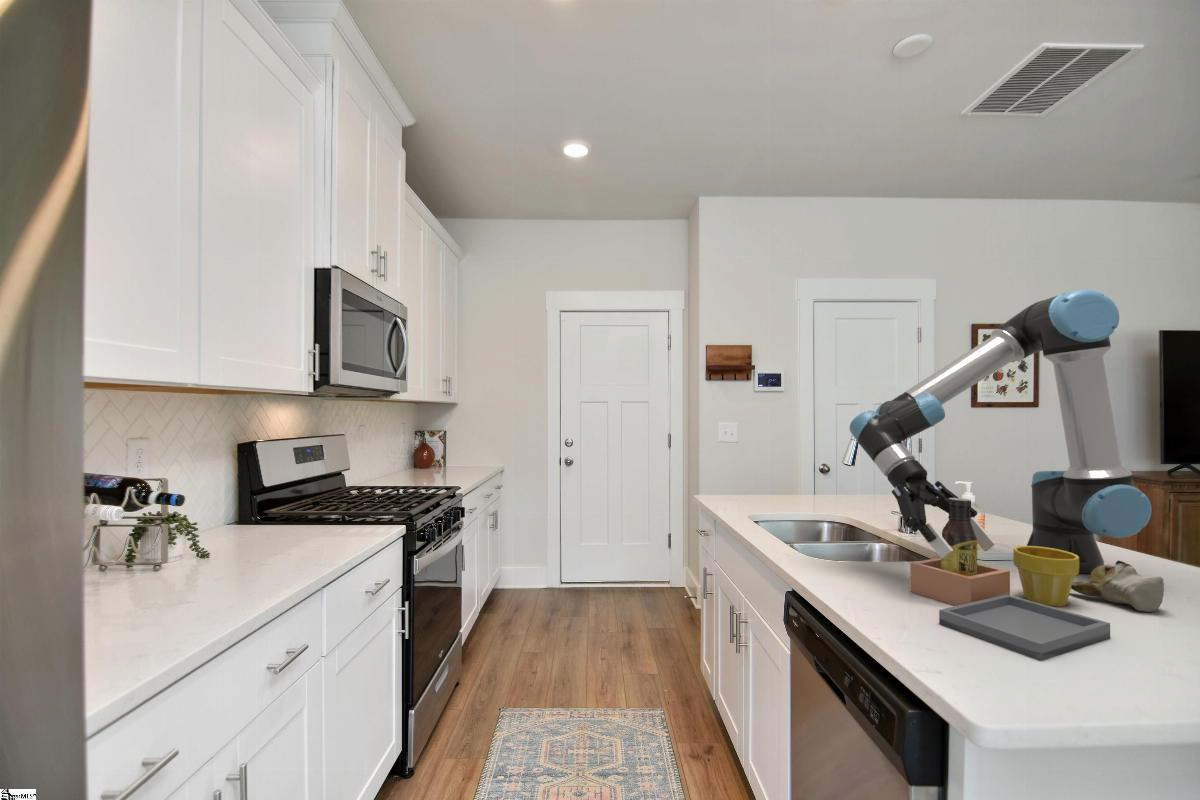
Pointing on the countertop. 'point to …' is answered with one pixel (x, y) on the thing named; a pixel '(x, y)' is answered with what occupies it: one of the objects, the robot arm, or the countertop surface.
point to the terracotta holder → (958, 583)
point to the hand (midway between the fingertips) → (969, 551)
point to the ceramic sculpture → (1123, 587)
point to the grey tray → (1025, 626)
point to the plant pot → (1046, 573)
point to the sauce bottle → (960, 539)
